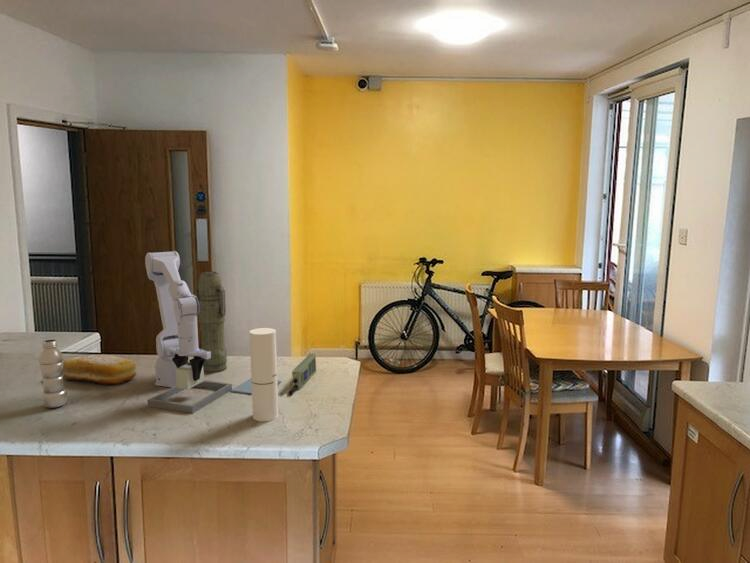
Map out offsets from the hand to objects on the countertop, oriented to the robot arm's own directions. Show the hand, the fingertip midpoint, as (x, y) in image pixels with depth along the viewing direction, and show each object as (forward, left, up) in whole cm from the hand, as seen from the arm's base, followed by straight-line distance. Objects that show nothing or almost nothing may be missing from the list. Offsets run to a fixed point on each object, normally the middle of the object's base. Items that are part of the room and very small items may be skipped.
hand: (190, 378), depth 174 cm
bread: (-41, +5, -7) cm, 42 cm away
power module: (0, 0, -2) cm, 2 cm away
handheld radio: (+26, +24, -7) cm, 36 cm away
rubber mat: (+14, +15, -6) cm, 21 cm away
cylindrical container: (+29, -5, -6) cm, 30 cm away
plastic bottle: (-34, -19, -6) cm, 39 cm away
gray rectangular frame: (0, 0, -6) cm, 6 cm away
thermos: (-10, +26, -6) cm, 29 cm away
